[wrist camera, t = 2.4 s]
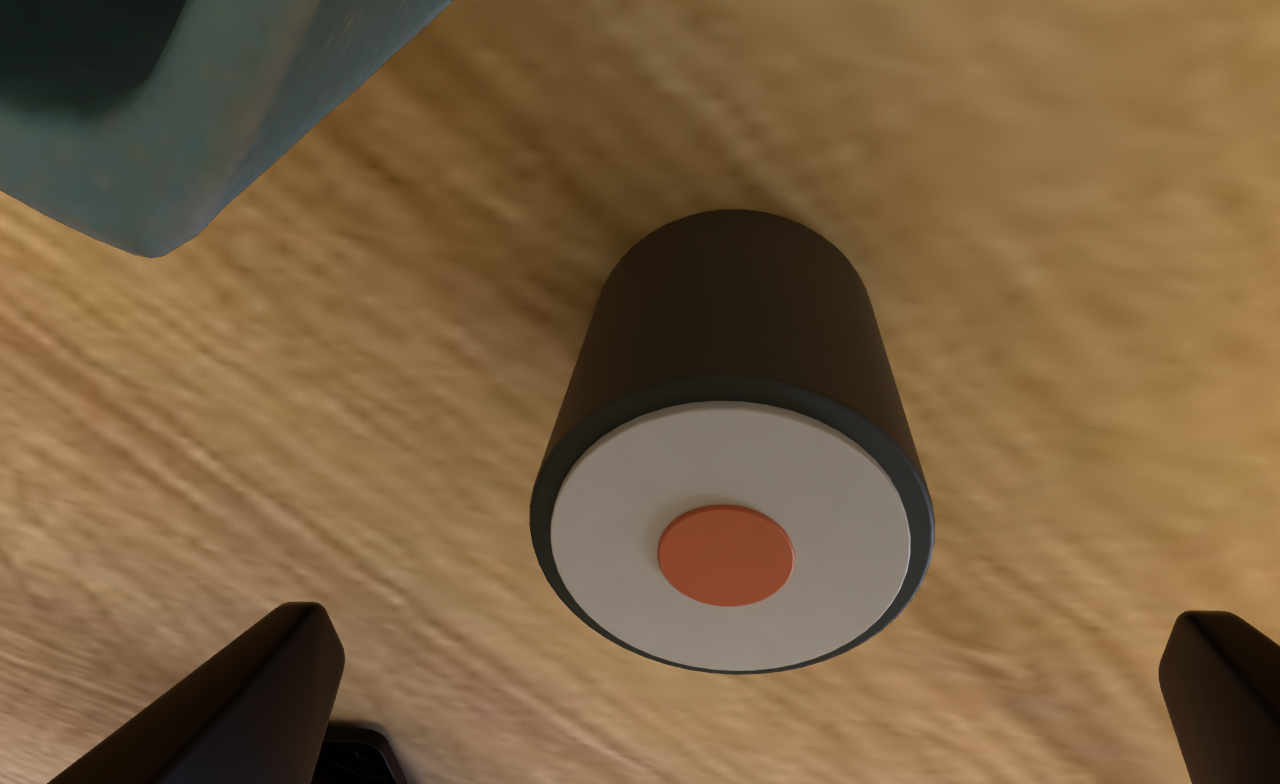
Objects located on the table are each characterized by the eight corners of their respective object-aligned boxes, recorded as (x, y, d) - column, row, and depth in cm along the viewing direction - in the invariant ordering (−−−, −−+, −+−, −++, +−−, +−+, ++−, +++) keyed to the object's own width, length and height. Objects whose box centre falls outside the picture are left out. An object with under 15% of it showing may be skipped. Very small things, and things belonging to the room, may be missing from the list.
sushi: (612, 455, 15) (559, 686, 11) (574, 218, 13) (485, 394, 8) (867, 450, 14) (921, 695, 10) (882, 197, 12) (963, 379, 7)
